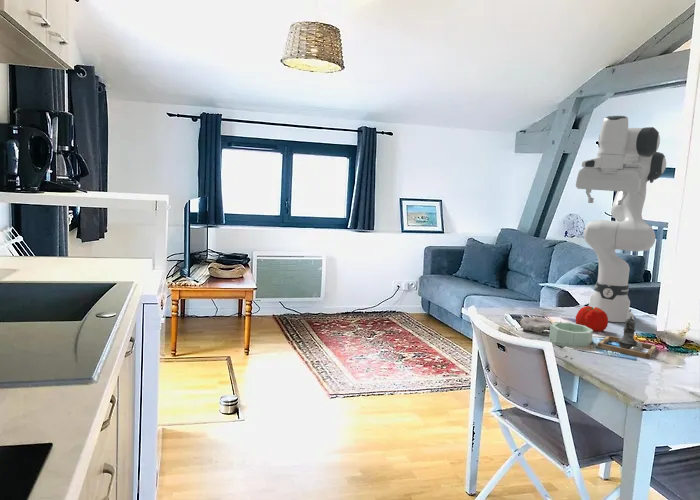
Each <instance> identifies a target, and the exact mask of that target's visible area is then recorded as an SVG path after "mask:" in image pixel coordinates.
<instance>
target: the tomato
mask: <svg viewBox="0 0 700 500" xmlns="http://www.w3.org/2000/svg"><path fill="white" fill-rule="evenodd" d="M575 324H579V325H584V326H586V327H588V328H590V329H592V330H593V332H604V331H605V330H606V329H607V327H608V325H609V321H608V317H607V314H606V313H605V312H604V311H602V310H601V308H600V309H599V308H597V307H595V308H593V307H590V306H589V305H587V306H583V307H581V308H580V309H579V310H578V311H577V313H576V316H575Z"/></svg>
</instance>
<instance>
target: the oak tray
mask: <svg viewBox="0 0 700 500" xmlns="http://www.w3.org/2000/svg"><path fill="white" fill-rule="evenodd" d="M621 338H622V337H617V336H615V335H614V336H613V335H608V334H606V336H605V337H604V338H602V339H601V340H600V341H598V343H597V348H598V349H602V350H607V351H611V352H616V353H621V354H625V355H629V356H633V357H637V358H641V359H642V358H643V359H646V360H649V359H650V358H651V357H652V356H653V354H654V353H655V352H656V350H657V345H655V344H653V343H646V342H641V341H639V342H640V343H641V344H642V349H646V350H647V349H648V351H647V352H641V351H640V352H639V351H634V350H630V349H625V348H621V347H620V346H616V345H615V346H614V345H611V344H607V343H608V342H609V341H610V342H615V341H616V342H615V343H619V341H618V339H621Z"/></svg>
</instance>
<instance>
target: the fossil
mask: <svg viewBox="0 0 700 500" xmlns="http://www.w3.org/2000/svg"><path fill="white" fill-rule="evenodd" d="M519 324H520V327H521V328H522V329H523V330H524V331H527V332H533V333H536V334H541V333H543V331H545V330H546V331H547V330H550V325H551V324H552V323H551V322H550V319H548V318H545V317H541V316H531V317H527V316H524V317H522V318H521V320H520V321H519Z"/></svg>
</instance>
